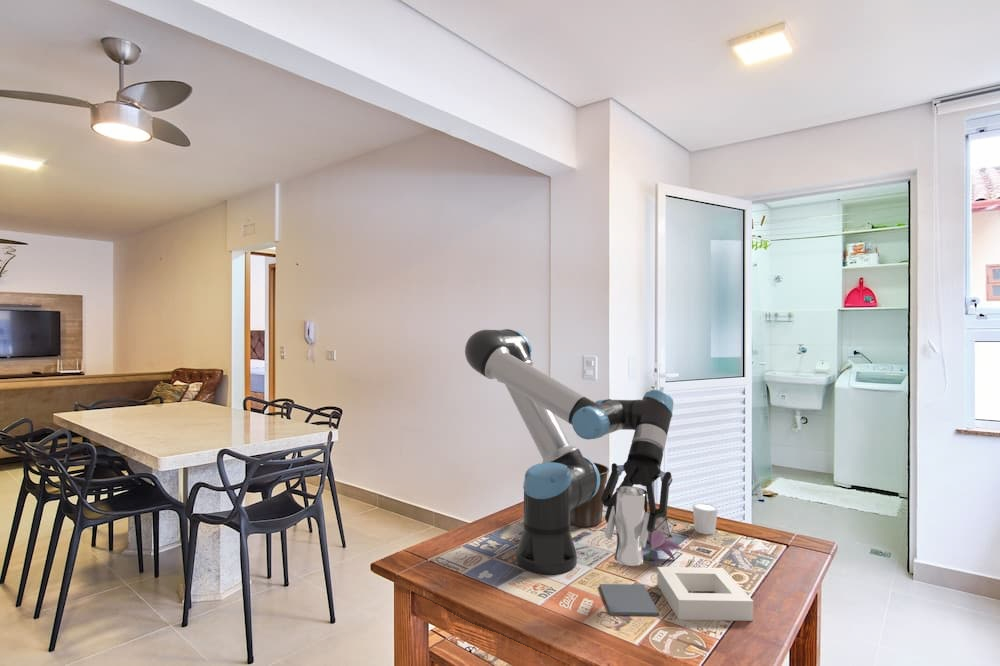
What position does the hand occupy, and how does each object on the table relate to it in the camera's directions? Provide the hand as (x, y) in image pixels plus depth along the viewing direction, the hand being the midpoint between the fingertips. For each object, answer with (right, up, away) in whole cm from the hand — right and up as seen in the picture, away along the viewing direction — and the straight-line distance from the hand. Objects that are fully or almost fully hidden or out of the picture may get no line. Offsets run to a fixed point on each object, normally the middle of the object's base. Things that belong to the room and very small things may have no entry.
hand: (624, 540), depth 114 cm
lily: (+14, -14, +24) cm, 31 cm away
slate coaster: (+1, -14, +3) cm, 15 cm away
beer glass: (+2, -6, +3) cm, 7 cm away
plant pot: (-2, -14, +51) cm, 53 cm away
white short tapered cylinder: (+33, -14, +44) cm, 57 cm away
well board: (+17, -14, +3) cm, 23 cm away
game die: (+17, -14, +35) cm, 42 cm away
